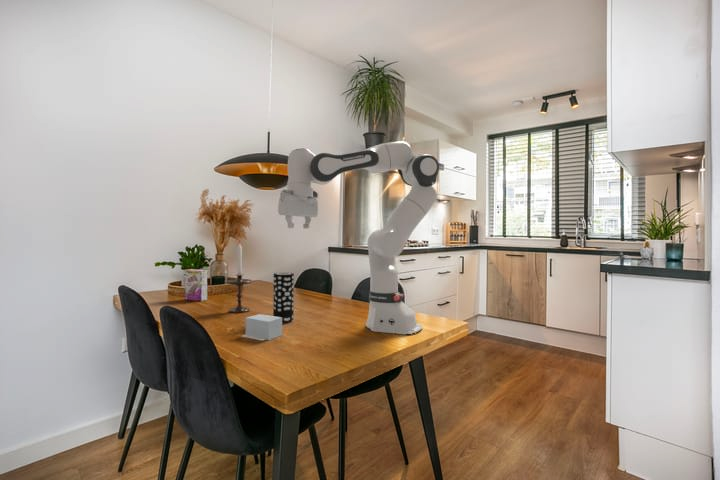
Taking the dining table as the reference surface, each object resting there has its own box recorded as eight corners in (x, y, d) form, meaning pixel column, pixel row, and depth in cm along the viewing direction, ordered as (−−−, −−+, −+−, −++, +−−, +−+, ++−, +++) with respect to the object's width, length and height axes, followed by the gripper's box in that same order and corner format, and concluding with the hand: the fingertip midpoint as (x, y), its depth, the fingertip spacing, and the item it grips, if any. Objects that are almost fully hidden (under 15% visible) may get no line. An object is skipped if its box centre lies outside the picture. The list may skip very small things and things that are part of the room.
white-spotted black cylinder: (288, 324, 148) (289, 275, 147) (269, 322, 149) (270, 274, 149) (296, 319, 156) (296, 273, 155) (278, 318, 157) (278, 272, 157)
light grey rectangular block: (282, 335, 132) (282, 317, 131) (268, 340, 125) (268, 321, 125) (259, 331, 137) (259, 313, 137) (245, 335, 131) (245, 317, 131)
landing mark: (281, 333, 134) (281, 333, 134) (262, 340, 125) (262, 340, 125) (261, 329, 138) (261, 329, 138) (241, 336, 130) (241, 335, 130)
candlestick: (223, 310, 170) (223, 236, 169) (244, 307, 178) (244, 236, 177) (234, 314, 163) (234, 237, 162) (255, 311, 170) (256, 237, 170)
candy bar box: (184, 300, 195) (184, 270, 194) (191, 298, 199) (191, 269, 199) (201, 301, 191) (201, 270, 191) (207, 300, 196) (207, 269, 196)
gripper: (287, 188, 127) (287, 227, 127) (321, 194, 145) (320, 228, 145) (274, 189, 130) (273, 227, 130) (308, 194, 148) (307, 228, 148)
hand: (298, 228), depth 138 cm, fingers open, 8 cm apart
